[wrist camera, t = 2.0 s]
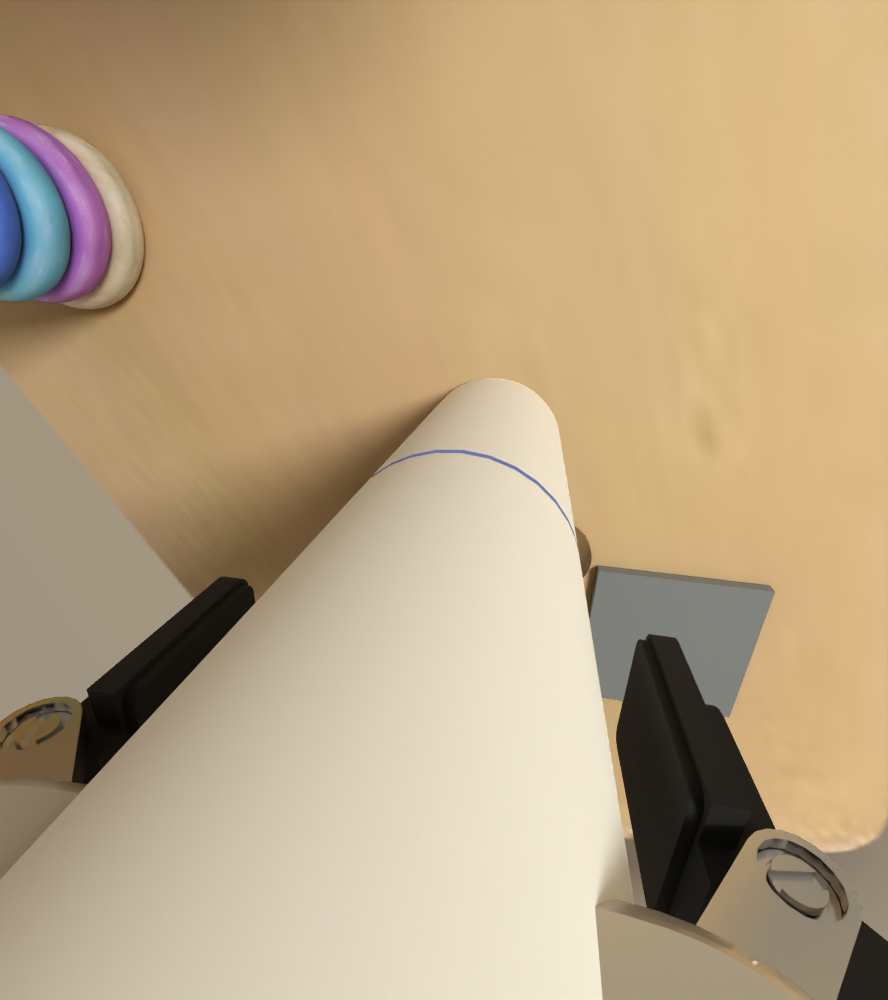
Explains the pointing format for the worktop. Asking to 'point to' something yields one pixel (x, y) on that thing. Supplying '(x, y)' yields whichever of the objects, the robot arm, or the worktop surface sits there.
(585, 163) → the worktop surface
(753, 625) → the mat
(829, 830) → the worktop surface
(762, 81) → the worktop surface
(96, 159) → the stacking toy
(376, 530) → the cylindrical container
